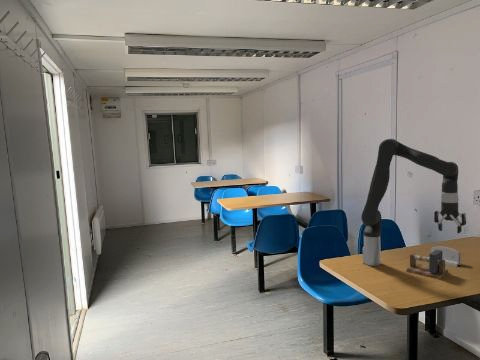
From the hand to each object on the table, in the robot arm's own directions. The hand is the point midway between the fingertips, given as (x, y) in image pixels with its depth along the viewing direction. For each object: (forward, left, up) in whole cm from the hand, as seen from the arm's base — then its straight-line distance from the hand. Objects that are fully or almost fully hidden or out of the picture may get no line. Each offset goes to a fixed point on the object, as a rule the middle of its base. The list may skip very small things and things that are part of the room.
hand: (449, 231), depth 177 cm
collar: (-7, 0, -22) cm, 23 cm away
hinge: (-9, +22, -25) cm, 34 cm away
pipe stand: (-11, 0, -24) cm, 27 cm away
